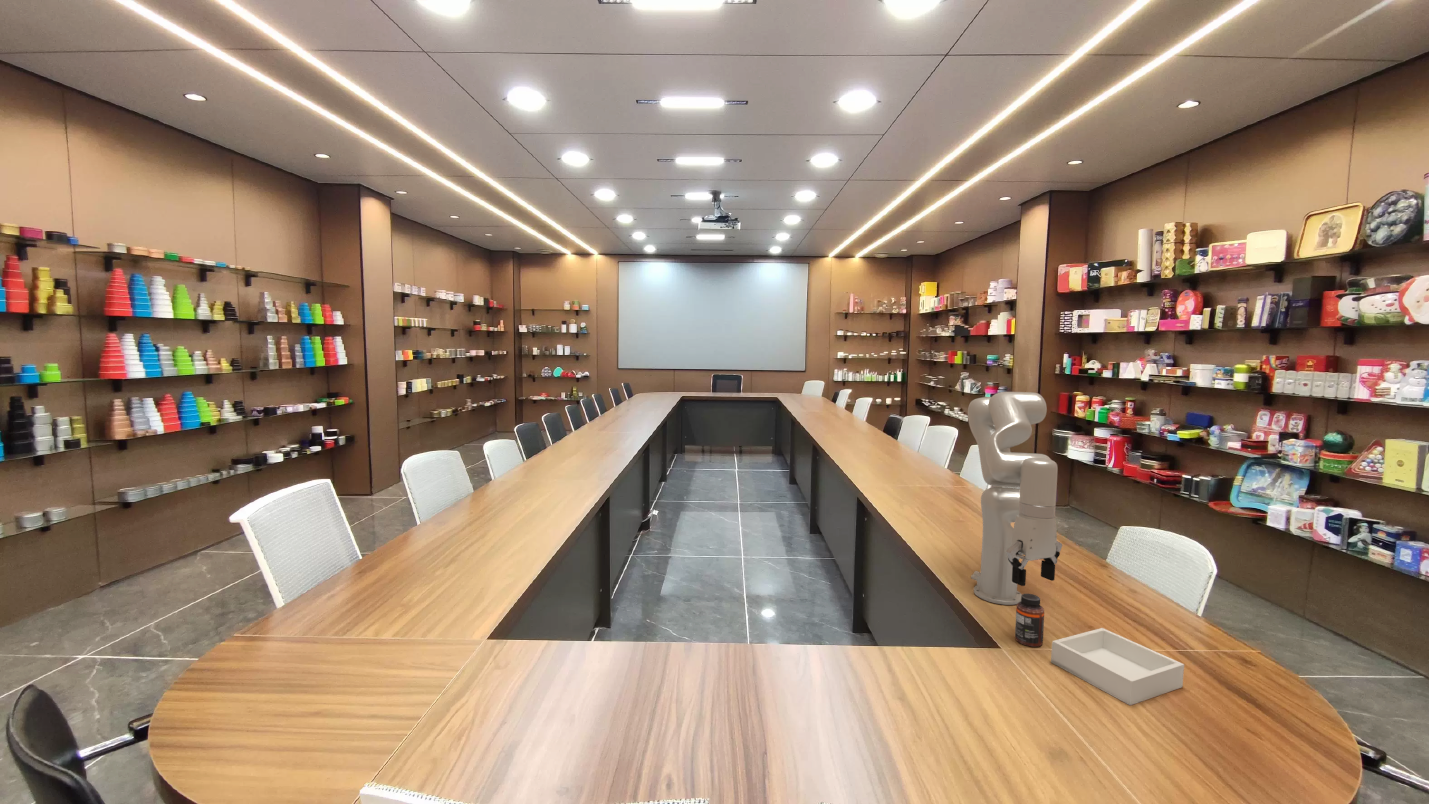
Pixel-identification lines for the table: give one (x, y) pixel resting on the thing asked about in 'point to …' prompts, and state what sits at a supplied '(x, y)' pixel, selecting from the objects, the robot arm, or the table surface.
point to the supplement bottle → (1029, 621)
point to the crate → (1117, 665)
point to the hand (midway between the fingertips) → (1033, 581)
